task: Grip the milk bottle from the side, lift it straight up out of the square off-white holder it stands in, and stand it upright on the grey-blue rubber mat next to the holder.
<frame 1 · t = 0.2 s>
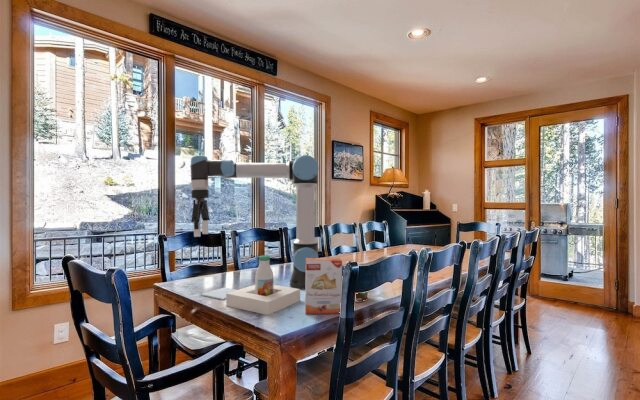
hand: (201, 235, 159), 27 cm above the table, tool pointing down, fingers open, 13 cm apart
food container: (362, 300, 152), on the table
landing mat: (223, 294, 159), on the table
grapes: (348, 288, 171), on the table
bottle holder: (264, 303, 145), on the table
cracker box: (323, 312, 134), on the table
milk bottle: (264, 303, 145), resting in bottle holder
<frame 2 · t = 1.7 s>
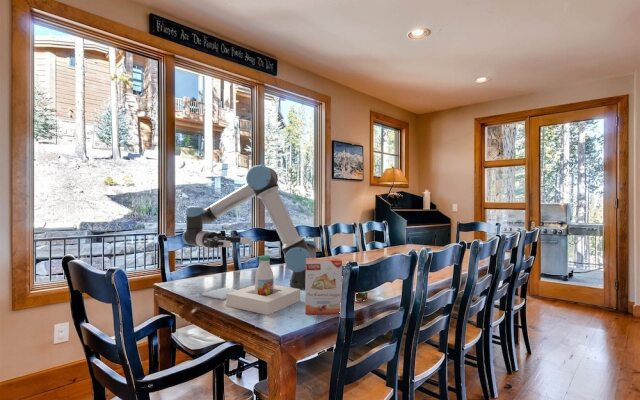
hand: (240, 242, 154), 25 cm above the table, tool horizontal, fingers open, 13 cm apart
nothing on the table moved.
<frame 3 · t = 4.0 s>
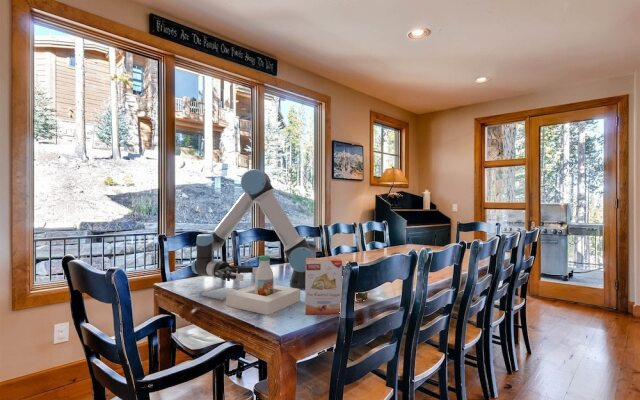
hand: (253, 274, 148), 11 cm above the table, tool horizontal, fingers open, 13 cm apart
nothing on the table moved.
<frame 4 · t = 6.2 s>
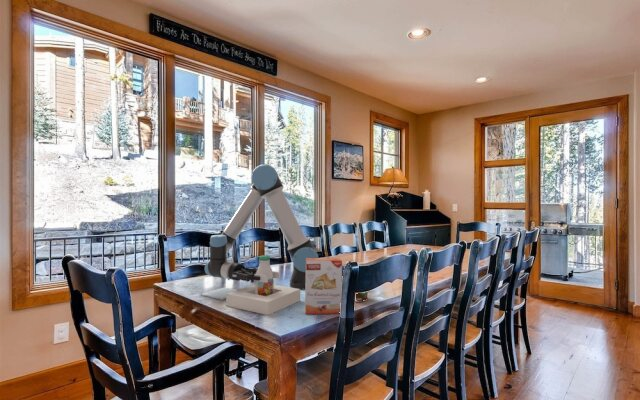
hand: (273, 277, 143), 12 cm above the table, tool horizontal, fingers closed on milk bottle, 7 cm apart
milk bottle: (264, 303, 145), resting in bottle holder, touching gripper
everything else where it was.
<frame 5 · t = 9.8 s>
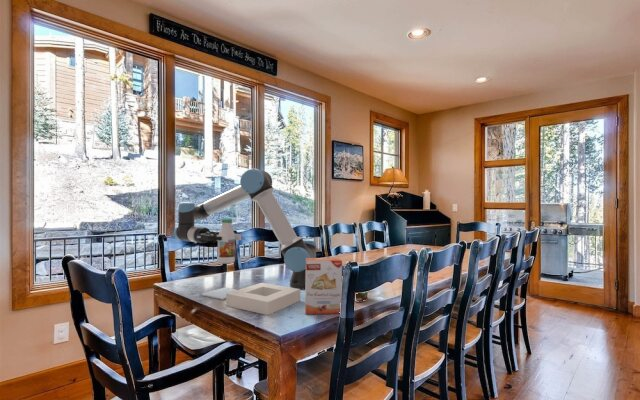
hand: (234, 238, 155), 26 cm above the table, tool horizontal, fingers closed on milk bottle, 7 cm apart
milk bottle: (226, 262, 157), point 15 cm above the table, touching gripper
everything else where it was.
when the fingers open (13 cm above the table, at t = 13.3 s): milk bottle drops 1 cm, resting on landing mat.
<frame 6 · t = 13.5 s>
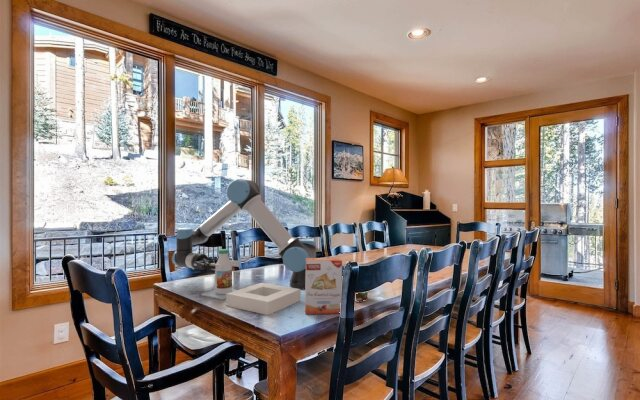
hand: (230, 265, 157), 13 cm above the table, tool horizontal, fingers open, 10 cm apart
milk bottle: (223, 292, 159), resting on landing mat
everything else where it was.
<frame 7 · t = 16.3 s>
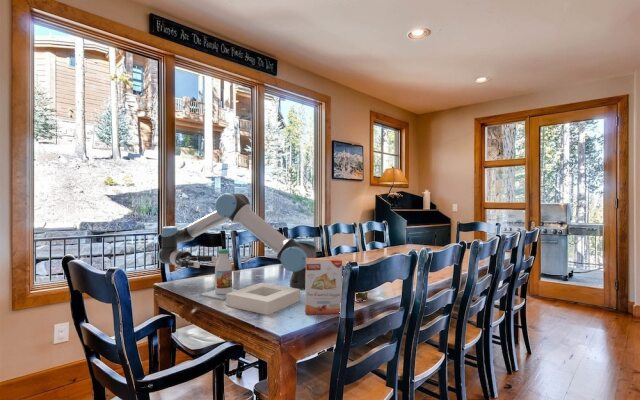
hand: (210, 262, 163), 14 cm above the table, tool horizontal, fingers open, 13 cm apart
nothing on the table moved.
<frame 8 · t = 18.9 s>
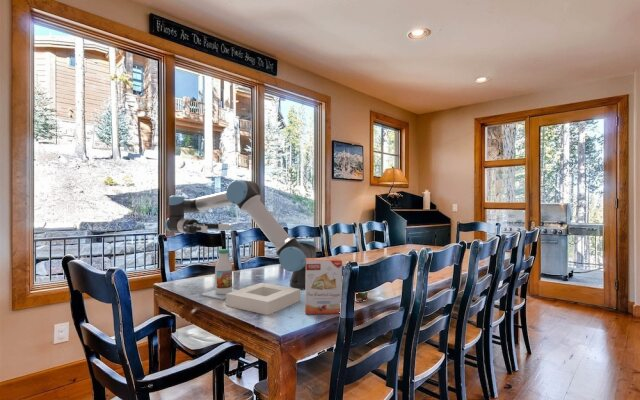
hand: (217, 228, 166), 30 cm above the table, tool horizontal, fingers open, 13 cm apart
nothing on the table moved.
at the end: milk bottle inside the target area on the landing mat (0.1 cm from its centre), point 0.4 cm above the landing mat's base; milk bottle tilted 0°; the gripper is holding nothing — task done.
